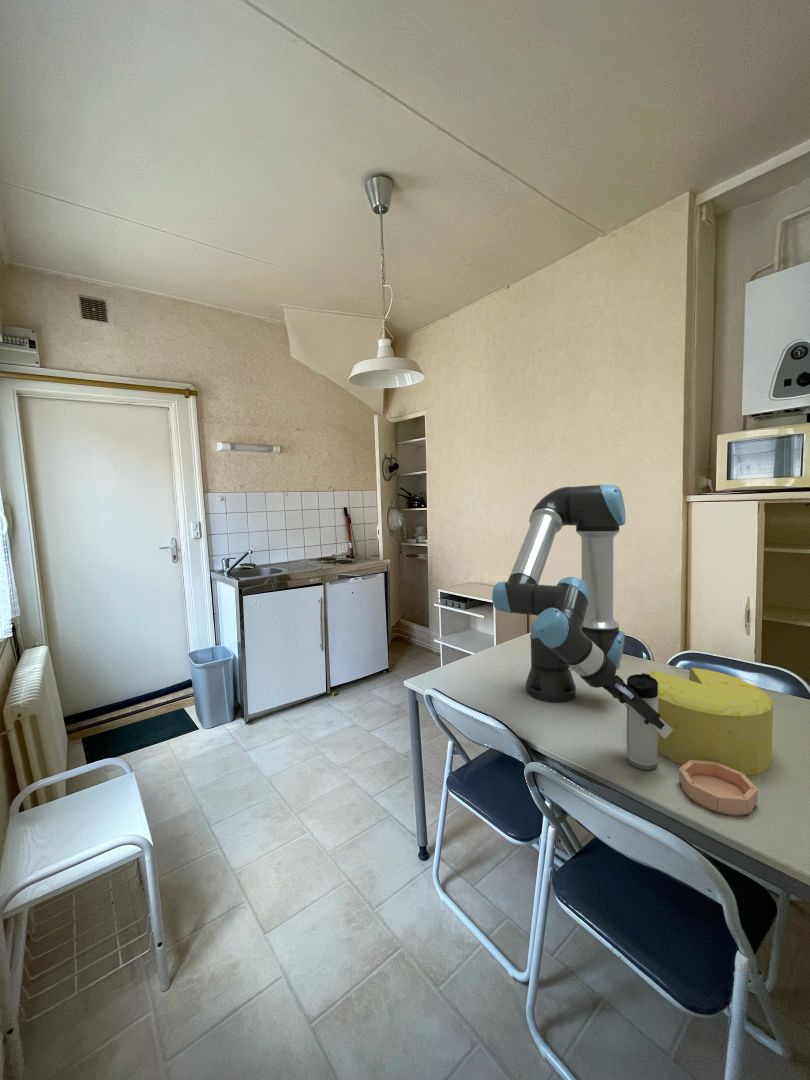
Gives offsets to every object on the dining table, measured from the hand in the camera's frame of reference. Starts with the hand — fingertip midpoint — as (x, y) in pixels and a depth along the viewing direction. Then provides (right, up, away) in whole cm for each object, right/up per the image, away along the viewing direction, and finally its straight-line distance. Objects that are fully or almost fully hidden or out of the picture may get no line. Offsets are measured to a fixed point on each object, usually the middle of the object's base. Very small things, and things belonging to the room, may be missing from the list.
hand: (656, 725), depth 99 cm
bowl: (+6, -9, -11) cm, 16 cm away
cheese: (+15, -8, +7) cm, 18 cm away
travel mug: (-3, -9, 0) cm, 9 cm away
